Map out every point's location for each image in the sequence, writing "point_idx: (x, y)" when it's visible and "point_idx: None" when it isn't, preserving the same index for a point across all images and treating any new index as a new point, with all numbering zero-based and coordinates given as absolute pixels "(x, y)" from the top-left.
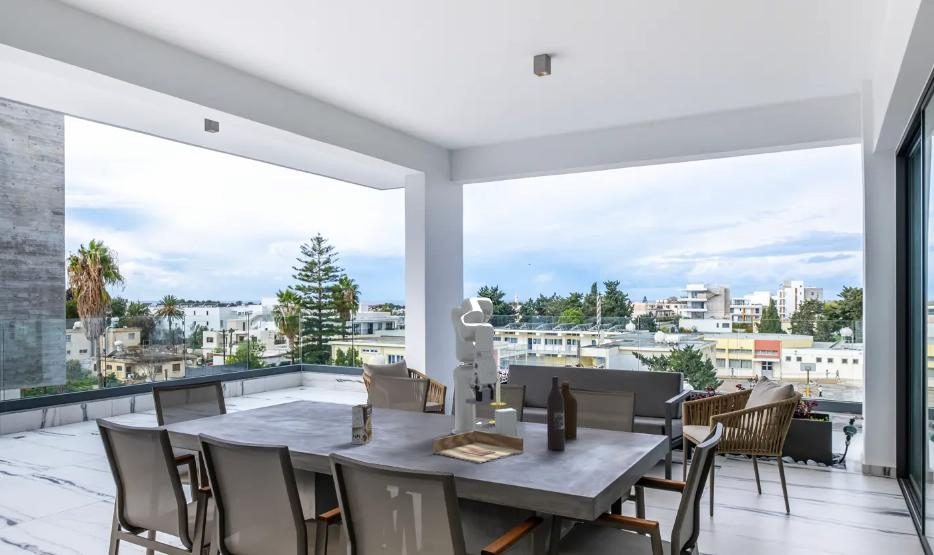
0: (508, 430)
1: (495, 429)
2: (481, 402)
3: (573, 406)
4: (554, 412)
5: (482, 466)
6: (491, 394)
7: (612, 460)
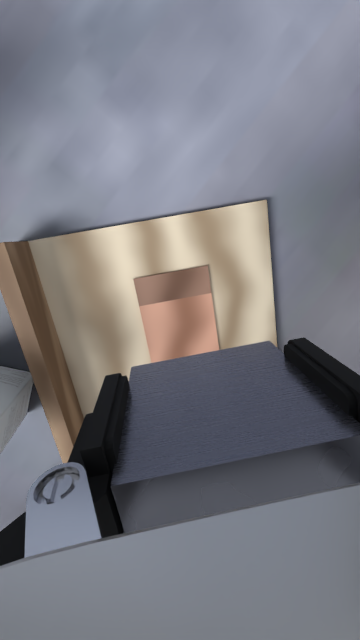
0: None
1: (4, 445)
2: (278, 350)
3: None
4: None
5: (283, 164)
6: (122, 416)
7: None
